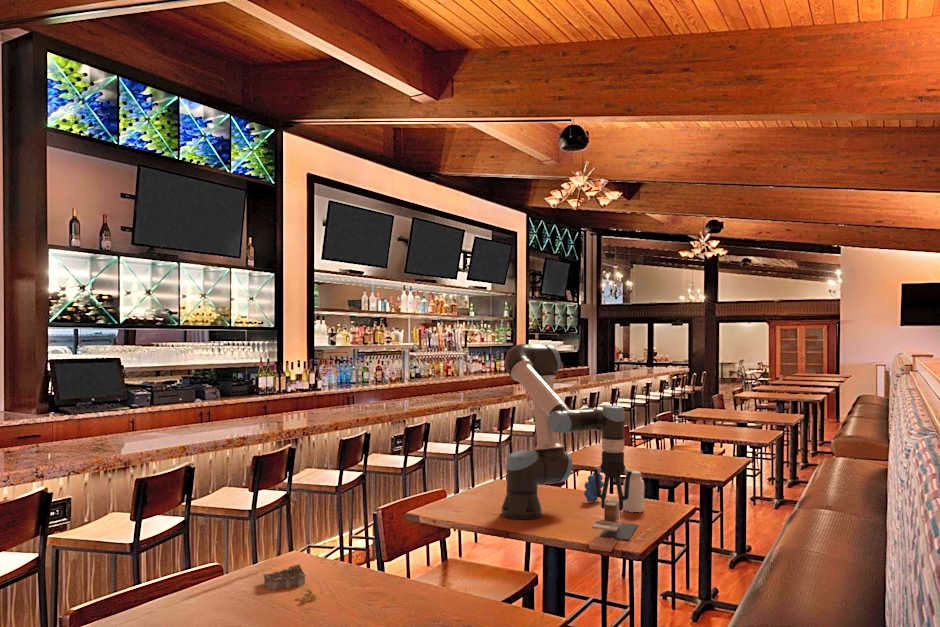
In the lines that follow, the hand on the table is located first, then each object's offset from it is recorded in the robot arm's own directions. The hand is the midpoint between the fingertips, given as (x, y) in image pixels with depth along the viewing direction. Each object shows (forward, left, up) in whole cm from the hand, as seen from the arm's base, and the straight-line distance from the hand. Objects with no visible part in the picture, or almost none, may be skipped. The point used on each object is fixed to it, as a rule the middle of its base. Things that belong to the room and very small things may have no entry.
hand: (612, 518), depth 259 cm
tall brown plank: (0, -3, 0) cm, 3 cm away
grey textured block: (-74, -87, -6) cm, 114 cm away
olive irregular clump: (-62, -94, -6) cm, 112 cm away
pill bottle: (+2, +35, -5) cm, 35 cm away
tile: (0, -11, -4) cm, 12 cm away
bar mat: (+2, +3, -5) cm, 6 cm away
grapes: (-16, +43, -5) cm, 46 cm away
